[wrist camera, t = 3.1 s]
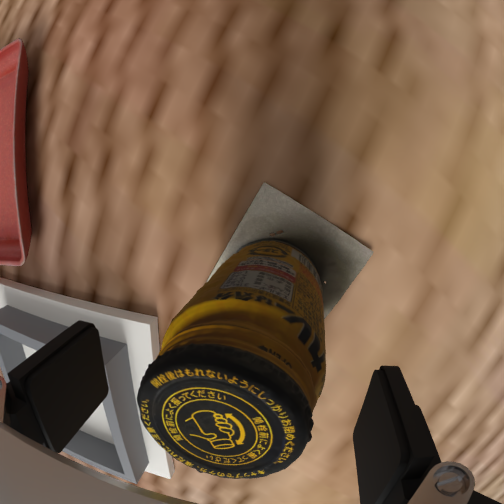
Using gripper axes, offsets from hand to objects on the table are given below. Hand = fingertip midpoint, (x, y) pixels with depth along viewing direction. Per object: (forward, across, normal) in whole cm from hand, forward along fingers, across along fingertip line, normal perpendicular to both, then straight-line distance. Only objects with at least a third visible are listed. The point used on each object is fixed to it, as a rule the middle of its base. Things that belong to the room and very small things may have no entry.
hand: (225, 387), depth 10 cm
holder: (+11, +16, +12) cm, 23 cm away
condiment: (+10, -1, -1) cm, 10 cm away
